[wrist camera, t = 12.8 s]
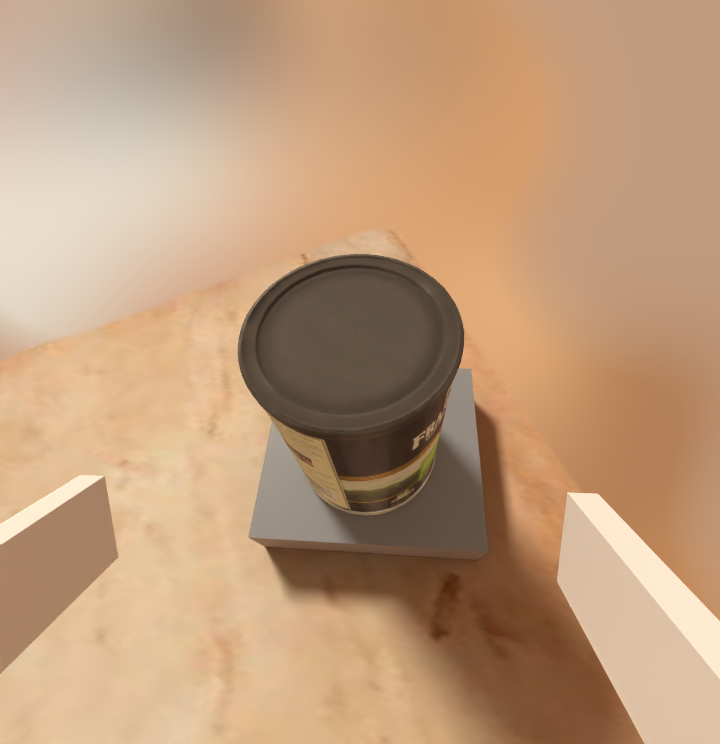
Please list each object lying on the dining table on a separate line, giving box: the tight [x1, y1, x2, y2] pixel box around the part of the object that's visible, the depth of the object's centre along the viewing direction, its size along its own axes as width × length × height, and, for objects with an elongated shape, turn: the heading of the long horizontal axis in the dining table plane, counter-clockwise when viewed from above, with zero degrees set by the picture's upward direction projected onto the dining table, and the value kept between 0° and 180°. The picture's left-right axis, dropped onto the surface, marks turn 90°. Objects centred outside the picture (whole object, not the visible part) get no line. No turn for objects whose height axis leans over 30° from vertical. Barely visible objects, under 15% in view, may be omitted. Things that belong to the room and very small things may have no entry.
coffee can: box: [238, 254, 464, 515], centre depth 24 cm, size 10×10×14 cm
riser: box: [249, 369, 489, 560], centre depth 31 cm, size 16×14×4 cm
